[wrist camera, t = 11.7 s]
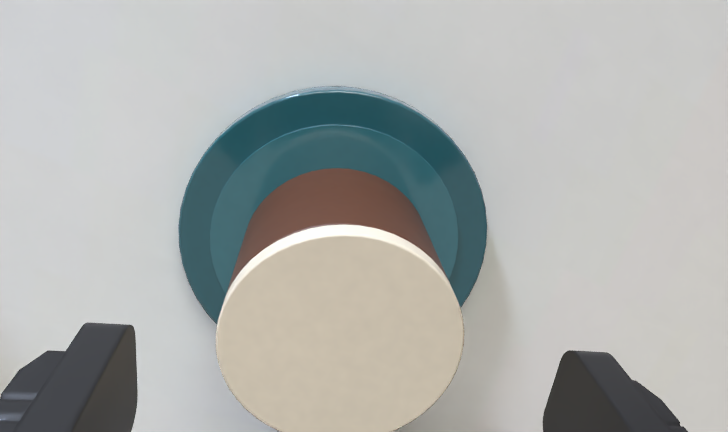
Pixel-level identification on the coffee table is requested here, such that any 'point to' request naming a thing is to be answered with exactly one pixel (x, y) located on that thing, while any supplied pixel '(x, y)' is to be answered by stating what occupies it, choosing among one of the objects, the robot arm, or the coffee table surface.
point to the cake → (338, 309)
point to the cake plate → (326, 151)
